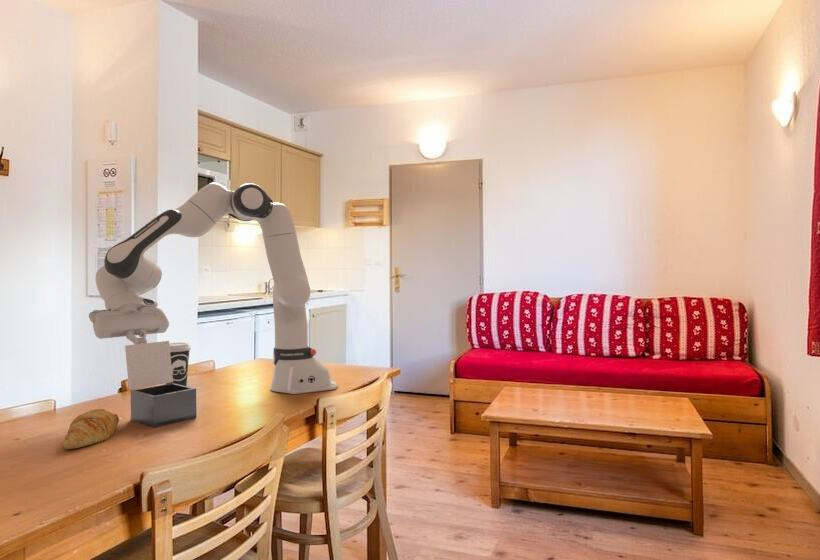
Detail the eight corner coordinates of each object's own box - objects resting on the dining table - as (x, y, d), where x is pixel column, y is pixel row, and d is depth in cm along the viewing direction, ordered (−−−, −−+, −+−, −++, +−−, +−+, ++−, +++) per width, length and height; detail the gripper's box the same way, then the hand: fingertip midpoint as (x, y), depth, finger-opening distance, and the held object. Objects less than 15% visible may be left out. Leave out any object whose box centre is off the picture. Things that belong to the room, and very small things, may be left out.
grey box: (131, 419, 143) (130, 390, 143) (173, 410, 153) (172, 383, 153) (153, 427, 136) (153, 396, 136) (196, 417, 146) (196, 388, 146)
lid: (130, 389, 143) (127, 389, 144) (173, 382, 153) (169, 382, 154) (126, 345, 144) (123, 346, 145) (168, 340, 154) (165, 341, 155)
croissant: (79, 468, 118) (96, 436, 118) (37, 448, 117) (54, 416, 117) (124, 436, 139) (139, 409, 139) (89, 419, 138) (103, 392, 138)
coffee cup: (196, 384, 190) (195, 342, 189) (182, 390, 180) (181, 346, 180) (170, 383, 190) (170, 342, 190) (155, 389, 181) (155, 345, 181)
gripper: (90, 303, 148) (106, 341, 142) (161, 300, 164) (178, 333, 159) (83, 318, 151) (99, 356, 145) (154, 313, 167) (170, 347, 161)
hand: (141, 344), depth 152 cm, fingers closed
